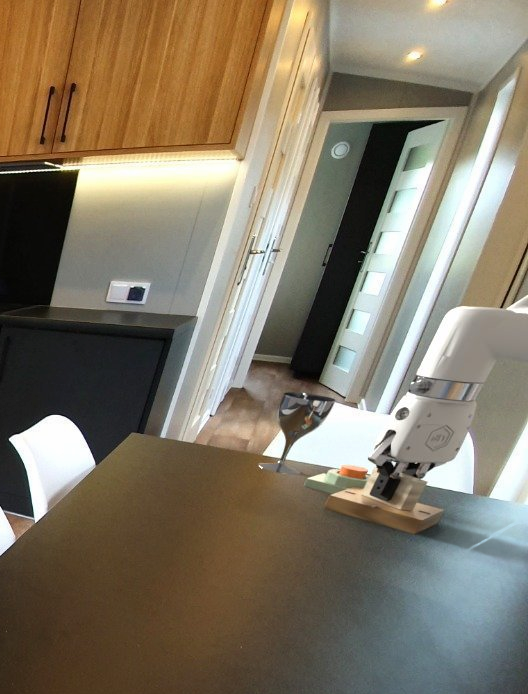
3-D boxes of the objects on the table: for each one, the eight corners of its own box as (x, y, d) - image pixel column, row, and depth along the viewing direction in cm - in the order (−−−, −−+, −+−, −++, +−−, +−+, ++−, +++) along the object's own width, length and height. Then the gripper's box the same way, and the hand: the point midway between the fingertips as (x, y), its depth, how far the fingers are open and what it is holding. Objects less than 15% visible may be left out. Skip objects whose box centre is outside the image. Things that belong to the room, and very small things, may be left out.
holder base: (438, 522, 107) (446, 508, 106) (413, 535, 102) (421, 519, 101) (349, 498, 116) (355, 485, 115) (321, 508, 111) (328, 494, 110)
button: (367, 478, 117) (371, 469, 117) (359, 481, 116) (363, 472, 115) (343, 472, 120) (347, 463, 119) (334, 475, 118) (338, 466, 118)
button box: (385, 498, 117) (394, 480, 115) (369, 504, 114) (379, 486, 112) (319, 481, 125) (327, 464, 123) (303, 486, 122) (310, 469, 120)
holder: (412, 510, 105) (428, 480, 102) (400, 509, 105) (415, 480, 102) (372, 494, 111) (386, 466, 109) (360, 494, 111) (374, 466, 109)
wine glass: (300, 467, 132) (331, 396, 126) (306, 477, 126) (339, 403, 120) (253, 460, 136) (281, 390, 130) (257, 469, 130) (286, 397, 124)
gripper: (418, 394, 96) (363, 506, 104) (518, 396, 97) (456, 507, 104) (371, 383, 103) (323, 489, 111) (465, 386, 103) (410, 491, 111)
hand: (388, 497), depth 107 cm, fingers closed on holder, 2 cm apart
